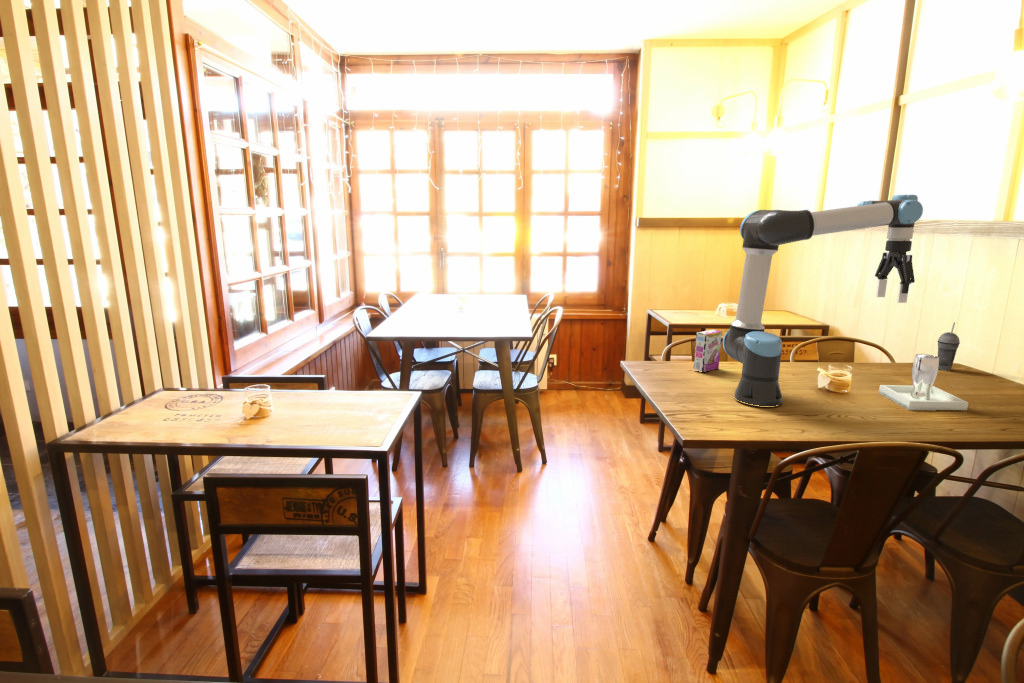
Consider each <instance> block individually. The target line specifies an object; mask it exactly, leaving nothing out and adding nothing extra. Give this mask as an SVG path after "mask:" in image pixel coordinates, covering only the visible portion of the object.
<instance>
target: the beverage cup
mask: <svg viewBox="0 0 1024 683" xmlns="http://www.w3.org/2000/svg"><path fill="white" fill-rule="evenodd" d="M955 324H956V322H953V323H952V327H951V331H950V332H948V331H947V332H944V333H942V334H941V335H939V337H938V339H937V357H939V366H938V369H941V370H940V371H942V370H951V371H952V368H953V365H954V361H955V358H956V355H957V351H958V348H959V346H960V344H961V343H960V342H961V341H960V337H959V336H958V335H957V334H956V333H954V328H955Z"/></svg>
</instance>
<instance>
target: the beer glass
mask: <svg viewBox="0 0 1024 683" xmlns="http://www.w3.org/2000/svg"><path fill="white" fill-rule="evenodd" d="M912 364H913V365H912V368H911V369H912V370H911V371H912V372H911V375H912V376H911V377H912V378H911V379H912V386H913V388H912V392H911V394H910V398H912V399H914V400H930V401H931V390H932V386H934V383H935V381H936V378H937V375H938V371H939V370H938V366H939V357H938V355H933V354H929V353H928V354H927V353H916V354H914V360H913V363H912Z"/></svg>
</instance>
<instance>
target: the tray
mask: <svg viewBox="0 0 1024 683" xmlns="http://www.w3.org/2000/svg"><path fill="white" fill-rule="evenodd" d="M912 388H913V385H906V384H905V385H902V384H901V385H898V384H897V385H896V384H893V385H891V384H879V389H878V394H880V395H882V396H883V397H885V398H887V399H888V400H891V401H892V402H894V403H896V404H898V405H899V406H900V407H902V408H904V409H907V410H908V411H936V410H966V411H965V412H968V407H969V402H968V401H966V400H964V399H962V398H961V397H958V396H955V395H954V394H952V393H949V392H947V391H945V390H943V389H941V388H938V387H936V386H935V385H933V386H932V390H931V401H930V400H914V399H912V398H910V394H911V392H912Z"/></svg>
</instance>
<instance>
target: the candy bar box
mask: <svg viewBox="0 0 1024 683" xmlns="http://www.w3.org/2000/svg"><path fill="white" fill-rule="evenodd" d="M695 334H696V336H695V344H694V345H695V347H694V360H693V369H695V370H698V371H702V372H705V371H709V370H713V369H716V370H719V369H718V368H719V367H720V366H719V365H720V356H721V348H722V347H721V344H722V336H723V335H722V334H723V332H722V331H721V330H718V329H717V330H716V329H709V330H704V331H699V332H698V331H697V332H696V333H695ZM713 371H714V370H713ZM709 372H710V371H709ZM705 373H706V372H705Z"/></svg>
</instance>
